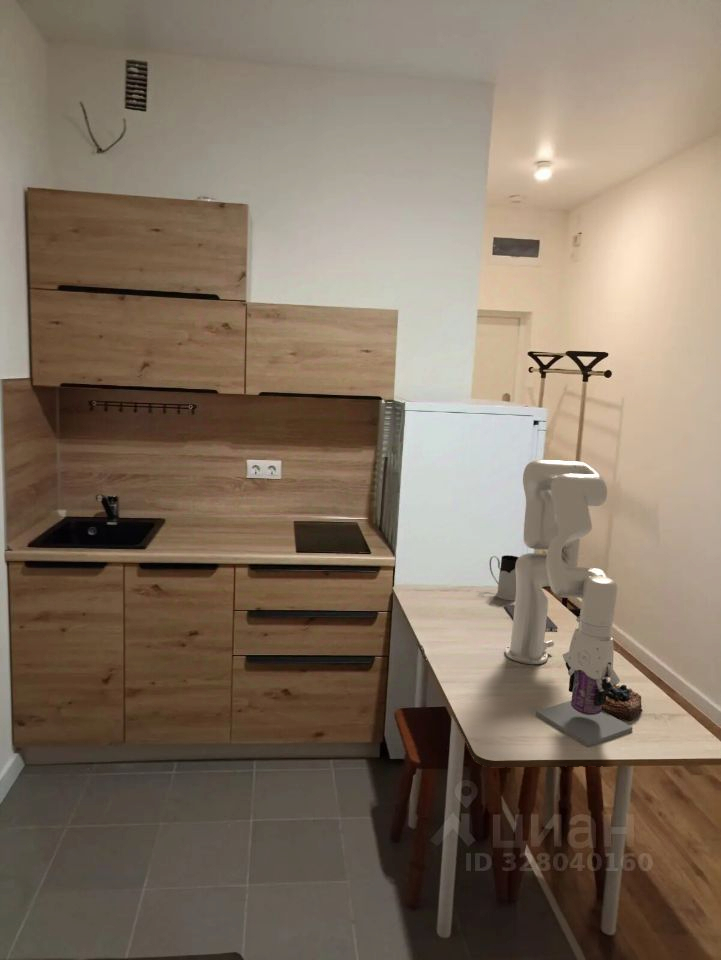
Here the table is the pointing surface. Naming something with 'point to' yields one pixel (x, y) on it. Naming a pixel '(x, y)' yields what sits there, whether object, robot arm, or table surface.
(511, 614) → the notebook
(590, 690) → the beverage can
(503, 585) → the white and black pitcher
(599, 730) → the mat
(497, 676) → the table surface
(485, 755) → the table surface
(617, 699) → the pastry
